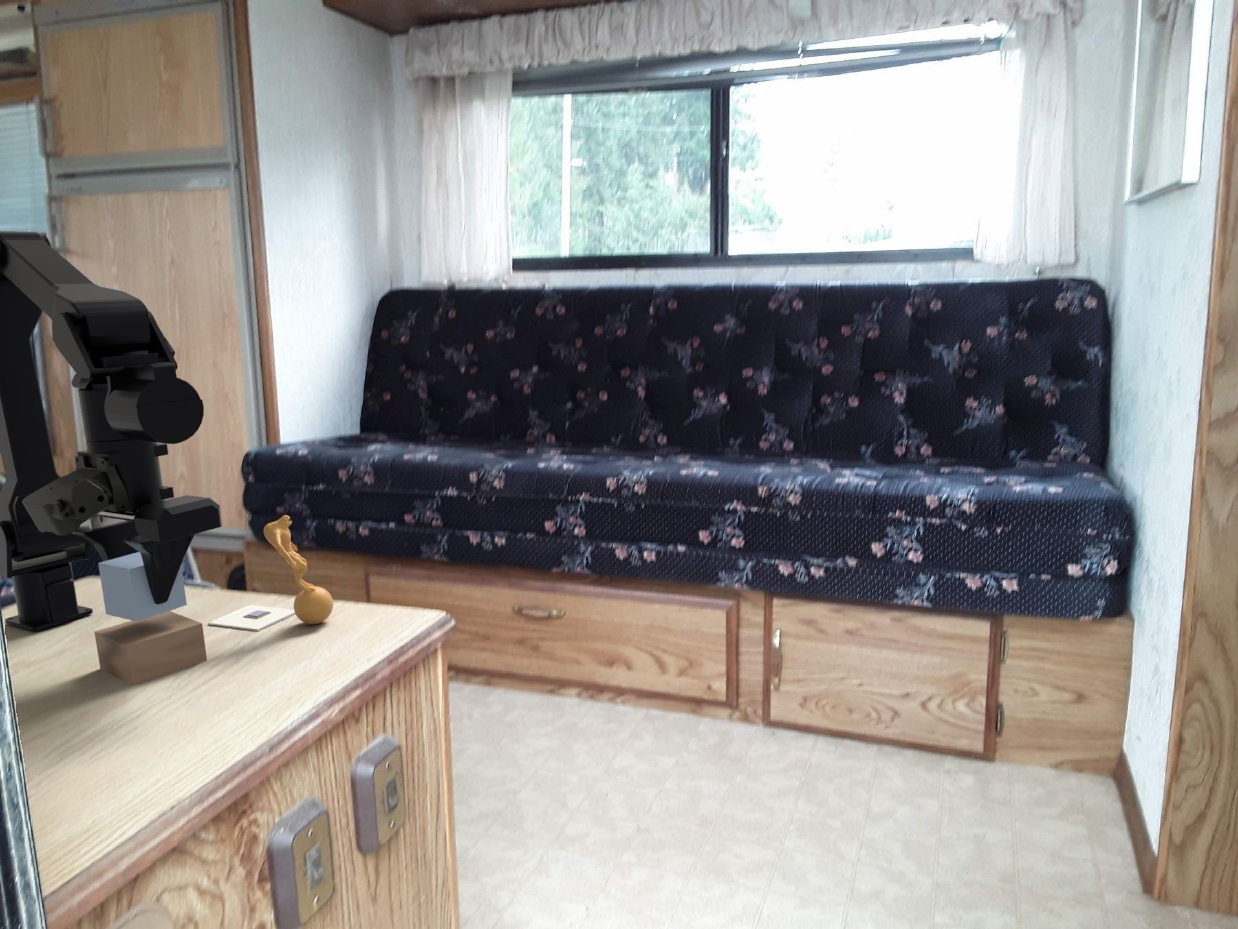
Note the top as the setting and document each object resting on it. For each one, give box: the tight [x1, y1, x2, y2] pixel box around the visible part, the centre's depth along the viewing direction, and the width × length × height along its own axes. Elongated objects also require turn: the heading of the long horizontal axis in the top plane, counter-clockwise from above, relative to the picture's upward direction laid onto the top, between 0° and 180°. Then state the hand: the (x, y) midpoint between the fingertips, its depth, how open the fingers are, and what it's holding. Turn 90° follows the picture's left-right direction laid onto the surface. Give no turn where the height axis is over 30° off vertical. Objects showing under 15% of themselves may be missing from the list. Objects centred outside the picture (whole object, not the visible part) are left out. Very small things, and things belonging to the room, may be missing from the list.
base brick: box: [94, 610, 208, 686], centre depth 90 cm, size 7×7×4 cm
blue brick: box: [98, 552, 188, 622], centre depth 89 cm, size 5×5×5 cm
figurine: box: [263, 514, 334, 625], centre depth 98 cm, size 8×6×12 cm
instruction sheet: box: [207, 604, 296, 632], centre depth 102 cm, size 7×6×1 cm
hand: (144, 599), depth 89 cm, fingers closed on blue brick, 5 cm apart
